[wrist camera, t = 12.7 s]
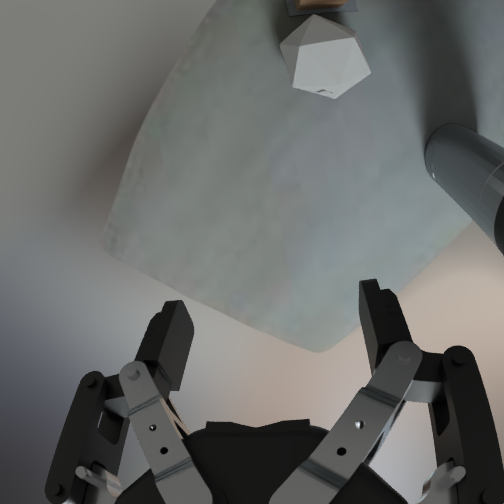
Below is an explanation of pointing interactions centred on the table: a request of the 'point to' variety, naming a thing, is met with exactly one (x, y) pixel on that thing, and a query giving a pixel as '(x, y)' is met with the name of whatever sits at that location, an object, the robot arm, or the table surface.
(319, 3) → the brown rectangular block
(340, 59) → the die
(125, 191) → the table surface
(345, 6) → the pad
